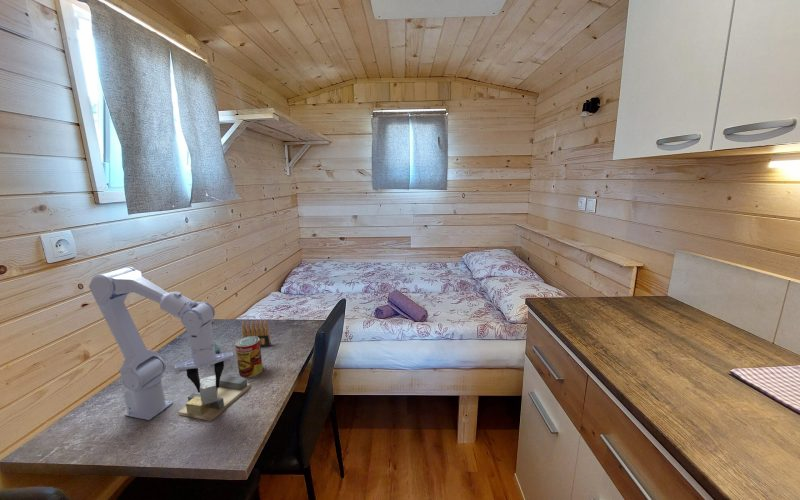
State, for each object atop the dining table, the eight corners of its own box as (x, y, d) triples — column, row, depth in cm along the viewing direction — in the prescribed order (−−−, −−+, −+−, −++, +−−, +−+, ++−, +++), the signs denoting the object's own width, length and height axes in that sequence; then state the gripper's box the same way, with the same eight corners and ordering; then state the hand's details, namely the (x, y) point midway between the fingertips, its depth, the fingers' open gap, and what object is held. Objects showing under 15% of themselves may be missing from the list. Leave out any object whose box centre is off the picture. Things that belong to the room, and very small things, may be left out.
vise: (178, 414, 100) (176, 404, 99) (220, 381, 116) (219, 372, 115) (212, 420, 97) (210, 410, 96) (250, 386, 113) (249, 377, 112)
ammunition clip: (270, 344, 142) (268, 318, 140) (269, 346, 141) (267, 319, 138) (244, 346, 141) (241, 319, 138) (243, 348, 139) (239, 321, 137)
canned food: (234, 375, 120) (230, 344, 117) (250, 364, 127) (247, 334, 125) (251, 379, 117) (247, 347, 115) (267, 367, 124) (264, 337, 122)
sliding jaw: (179, 411, 99) (177, 402, 99) (194, 400, 105) (192, 390, 104) (210, 417, 97) (208, 407, 96) (224, 405, 102) (222, 395, 101)
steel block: (201, 405, 95) (199, 389, 94) (202, 393, 101) (200, 378, 99) (217, 400, 97) (215, 385, 96) (217, 389, 102) (215, 375, 101)
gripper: (170, 358, 89) (178, 403, 92) (231, 345, 96) (236, 388, 98) (173, 347, 95) (180, 390, 98) (230, 335, 102) (235, 376, 104)
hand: (208, 388), depth 98 cm, fingers closed on steel block, 4 cm apart
